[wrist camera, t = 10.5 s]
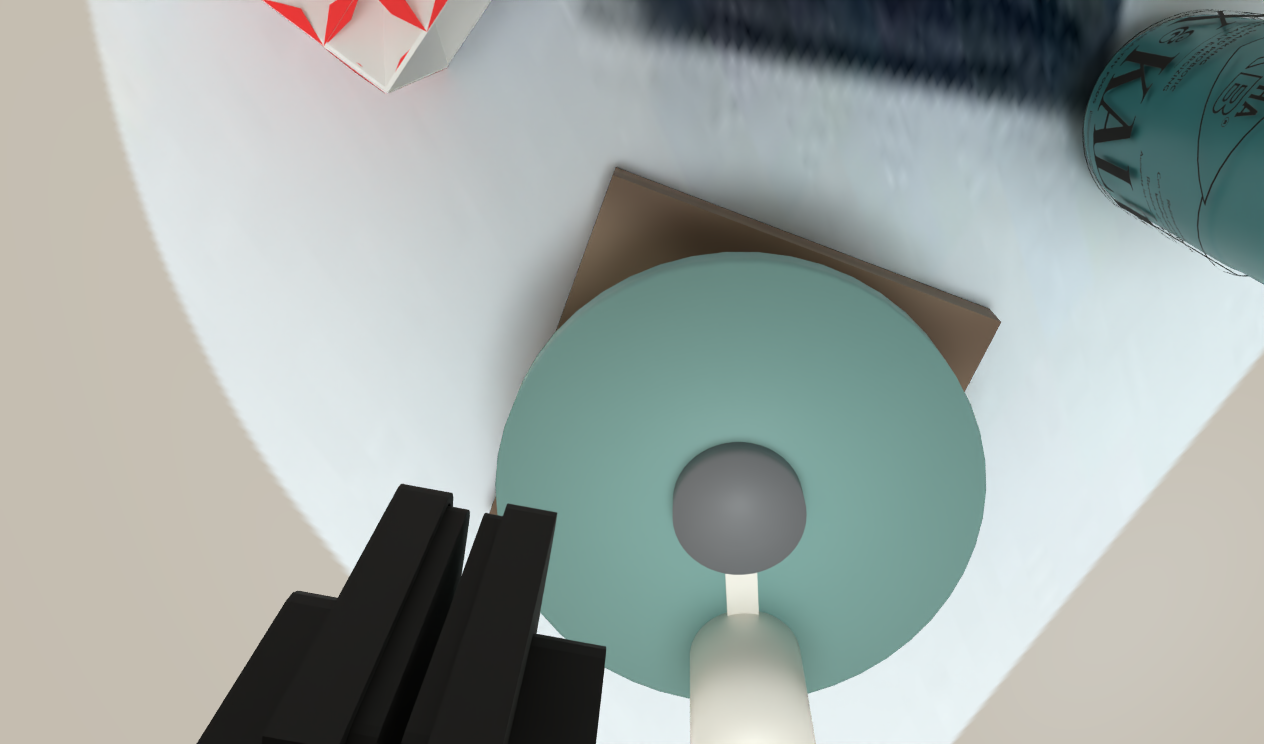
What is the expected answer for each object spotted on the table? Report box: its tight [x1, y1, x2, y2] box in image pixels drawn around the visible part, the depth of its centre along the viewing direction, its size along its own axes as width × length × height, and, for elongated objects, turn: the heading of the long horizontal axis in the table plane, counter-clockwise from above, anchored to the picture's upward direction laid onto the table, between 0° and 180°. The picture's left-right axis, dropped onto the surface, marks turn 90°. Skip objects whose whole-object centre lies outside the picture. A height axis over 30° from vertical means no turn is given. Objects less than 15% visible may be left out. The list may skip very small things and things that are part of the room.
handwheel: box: [495, 252, 986, 744], centre depth 32 cm, size 15×15×6 cm
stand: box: [489, 167, 1001, 515], centre depth 37 cm, size 14×14×5 cm
